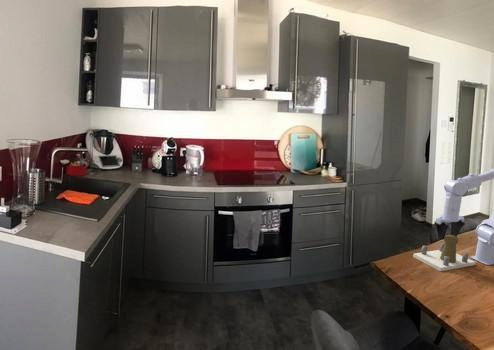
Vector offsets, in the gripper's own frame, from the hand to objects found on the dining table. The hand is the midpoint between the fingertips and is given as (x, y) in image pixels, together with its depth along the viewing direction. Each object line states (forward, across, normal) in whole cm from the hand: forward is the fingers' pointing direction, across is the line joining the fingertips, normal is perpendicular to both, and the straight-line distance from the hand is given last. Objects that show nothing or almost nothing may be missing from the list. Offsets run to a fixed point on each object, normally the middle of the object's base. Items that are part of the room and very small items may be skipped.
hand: (447, 237), depth 144 cm
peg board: (+10, +1, +1) cm, 10 cm away
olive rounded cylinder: (+9, +1, +3) cm, 10 cm away
